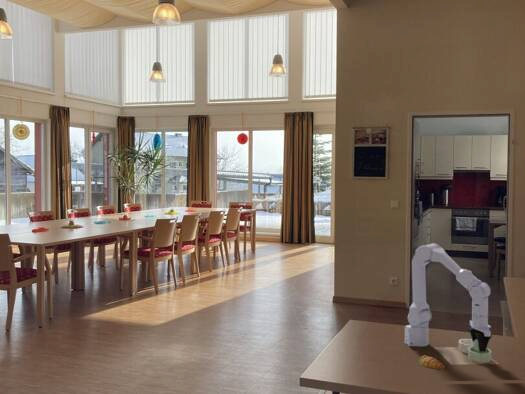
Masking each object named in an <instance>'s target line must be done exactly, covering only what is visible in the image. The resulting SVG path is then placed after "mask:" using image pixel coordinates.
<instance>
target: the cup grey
mask: <svg viewBox="0 0 525 394" xmlns="http://www.w3.org/2000/svg"><path fill="white" fill-rule="evenodd" d="M458 347H459V351H460V352H463V353H467V354H468V348H469V347H473V341H472V338H461V339H459V340H458Z"/></svg>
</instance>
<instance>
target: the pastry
mask: <svg viewBox="0 0 525 394" xmlns="http://www.w3.org/2000/svg"><path fill="white" fill-rule="evenodd" d="M418 364H419V365H420V366H422V367H425V368H431V369H434V370H444V369H445V365H444V364H443V363H442V362H441V361H440V360H438V359H437V358H436V357H433V356H428V355H425V354H424V355H422V356H421V357H420V358H419V361H418Z"/></svg>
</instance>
